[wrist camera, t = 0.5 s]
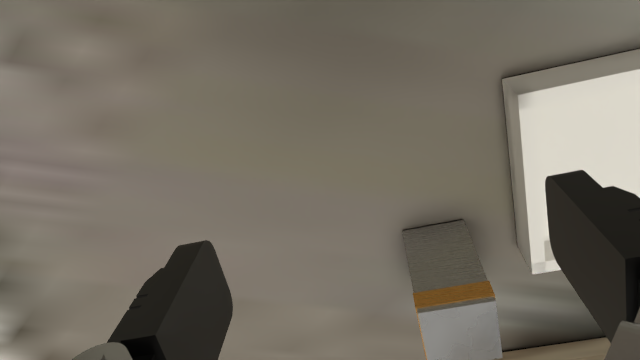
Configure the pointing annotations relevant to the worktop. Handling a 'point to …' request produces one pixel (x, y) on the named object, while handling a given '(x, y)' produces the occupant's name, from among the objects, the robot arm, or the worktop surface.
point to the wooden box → (563, 351)
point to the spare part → (452, 294)
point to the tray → (570, 138)
